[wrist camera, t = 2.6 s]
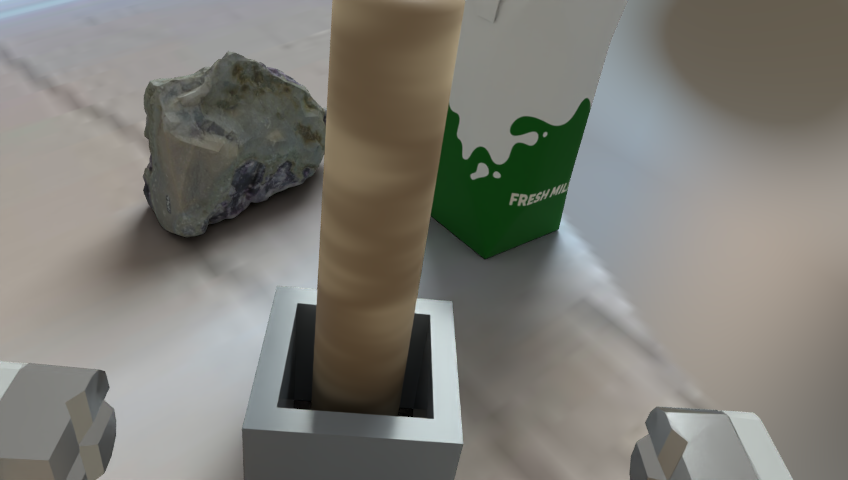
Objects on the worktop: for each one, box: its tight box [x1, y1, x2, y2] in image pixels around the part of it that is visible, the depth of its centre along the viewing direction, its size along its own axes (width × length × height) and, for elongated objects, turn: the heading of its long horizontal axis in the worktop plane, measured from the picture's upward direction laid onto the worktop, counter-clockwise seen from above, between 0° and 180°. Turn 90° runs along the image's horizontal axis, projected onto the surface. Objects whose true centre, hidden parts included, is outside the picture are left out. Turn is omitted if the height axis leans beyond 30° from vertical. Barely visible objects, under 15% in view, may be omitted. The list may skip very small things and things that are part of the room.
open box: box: [242, 286, 463, 480], centre depth 29 cm, size 8×8×6 cm
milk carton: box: [431, 0, 628, 259], centre depth 42 cm, size 9×9×20 cm
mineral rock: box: [143, 51, 327, 237], centre depth 43 cm, size 13×11×10 cm
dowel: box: [311, 0, 465, 416], centre depth 25 cm, size 4×4×20 cm
